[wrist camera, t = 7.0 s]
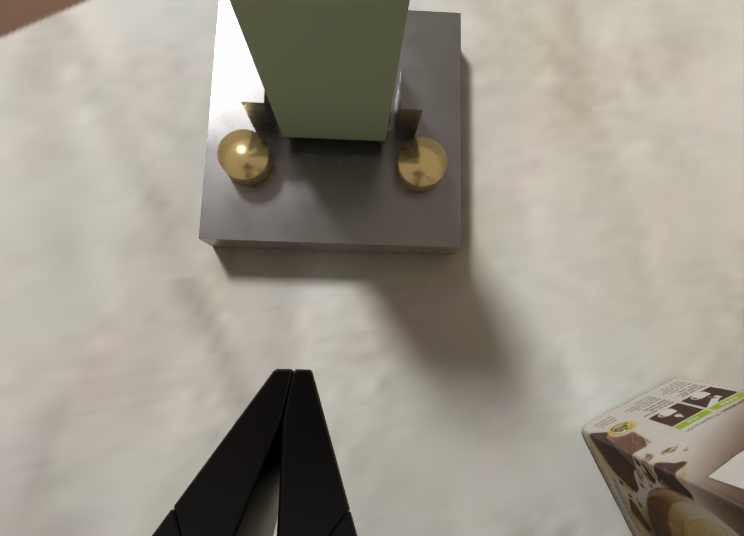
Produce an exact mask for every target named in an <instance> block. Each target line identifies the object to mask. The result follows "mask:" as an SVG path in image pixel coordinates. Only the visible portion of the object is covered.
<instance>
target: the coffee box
mask: <svg viewBox="0 0 744 536" xmlns="http://www.w3.org/2000/svg"><path fill="white" fill-rule="evenodd" d="M582 433H583V436H584V438H585V440H586V442H587V444H588V446H589V448H590V450H591V452H592V454H593V456H594V458H595V459H596V461H597V463H598V465H599V467H600V469H601V471H602V473H603V475H604V477H605V479H606V481H607V483H608V485H609V487H610V489H611V491H612V493H613V495H614V497H615V499H616V501H617V503H618V505H619V507H620V509H621V511H622V513H623V515H624V517H625V519H626V521H627V523H628V525H629V527H630V529H631V530H632V532H633V534H634V536H744V390H742V389H735V388H729V387H724V386H718V385H713V384H707V383H701V382H696V381H690V380H685V379H679V378H675V379H673V380H671V381H669V382H667V383H665V384H663V385H661V386H659V387H657V388H655V389H653V390H651V391H649V392H647V393H645V394H643V395H641V396H639V397H637V398H635V399H634V400H632V401H630V402H628V403H626V404H624V405H622V406H620V407H618V408H616V409H614V410H613V411H611V412H609V413H607V414H605V415H603V416H601V417H599V418H597V419H595V420H593V421H592V422H590V423H588V424H586V425H585V426H584V427H583V429H582Z"/></svg>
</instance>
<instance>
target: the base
mask: <svg viewBox="0 0 744 536" xmlns="http://www.w3.org/2000/svg"><path fill="white" fill-rule="evenodd" d="M199 239H200V240H202V241H204V242H206V243H207V244H209V245H211V246H215V247H245V248H276V249H306V250H336V251H367V252H397V253H428V254H453V253H455V252H456V251H457V250H459V249H460V248H461V18H460V13H448V12H430V11H411V10H408V12H407V18H406V24H405V30H404V36H403V41H402V47H401V53H400V59H399V65H398V71H397V76H396V82H395V88H394V94H393V100H392V106H391V119H390V125H388V129H387V135H386V141H368V140H345V139H321V138H298V137H283V135H282V133H281V130H280V128H279V125H278V122H277V120H276V117H275V115H274V112H273V110H272V107H271V105H270V102H269V100H268V97H267V95H266V92H265V89H264V87H263V84H262V82H261V79H260V77H259V74H258V72H257V69H256V67H255V64H254V62H253V59H252V56H251V54H250V51H249V49H248V46H247V44H246V41H245V39H244V36H243V34H242V31H241V29H240V26H239V23H238V21H237V18H236V16H235V13H234V11H233V8H232V6H231V3H230V1H226V0H219V8H218V20H217V32H216V43H215V55H214V67H213V78H212V90H211V102H210V113H209V125H208V137H207V148H206V160H205V172H204V183H203V195H202V207H201V218H200V230H199Z"/></svg>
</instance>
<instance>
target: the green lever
mask: <svg viewBox="0 0 744 536" xmlns="http://www.w3.org/2000/svg"><path fill="white" fill-rule="evenodd" d="M229 1H230V3H231V6H232V8H233V11H234V13H235V16H236V18H237V21H238V23H239V26H240V29H241V31H242V34H243V36H244V39H245V41H246V44H247V46H248V49H249V51H250V54H251V56H252V59H253V62H254V64H255V67H256V69H257V72H258V74H259V77H260V79H261V82H262V84H263V87H264V89H265V92H266V95H267V97H268V100H269V102H270V105H271V107H272V110H273V112H274V115H275V117H276V120H277V122H278V125H279V128H280V130H281V133H282V135H283V137H298V138H321V139H345V140H368V141H386V135H387V129H388V125H390V119H391V106H392V100H393V94H394V88H395V82H396V76H397V71H398V65H399V59H400V53H401V47H402V41H403V36H404V30H405V24H406V18H407V12H408V6H409V1H410V0H229Z"/></svg>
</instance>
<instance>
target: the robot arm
mask: <svg viewBox="0 0 744 536" xmlns="http://www.w3.org/2000/svg"><path fill="white" fill-rule="evenodd" d="M174 509H175V510H174ZM174 509H172V510H171V511H170V512H169V513H168V515H167V516H166V517H165V519H164V520H163V522H162V523H161V524H160V526H159V527H158V528H157V530H156V531H155V532H154V534H153V535H152V536H273V534H274V529H275V525H276V521H277V516H278V526H277V536H357V533H356V529H355V526H354V522H353V518H352V515H351V512H349V509H350V508H349V504H348V501H347V497H346V493H345V490H344V486H343V482H342V479H341V475H340V471H339V468H338V464H337V460H336V457H335V453H334V449H333V446H332V442H331V438H330V435H329V431H328V427H327V424H326V420H325V416H324V413H323V409H322V405H321V402H320V398H319V394H318V391H317V387H316V383H315V380H314V376H313V373H312V371H311V370H303V369H297V370H294V372H293V370H291V369H276V370H274V371H273V373H272V374H271V375H270V377H269V378H268V379H267V381H266V382H265V383H264V385H263V386H262V387H261V389H260V390H259V392H258V393H257V394H256V396H255V397H254V398H253V400H252V401H251V402H250V404H249V405H248V406H247V408H246V409H245V411H244V412H243V413H242V415H241V416H240V417H239V419H238V420H237V421H236V423H235V424H234V425H233V427H232V428H231V430H230V431H229V432H228V434H227V435H226V436H225V438H224V439H223V440H222V442H221V443H220V444H219V446H218V447H217V449H216V450H215V451H214V453H213V454H212V455H211V457H210V458H209V459H208V461H207V462H206V463H205V465H204V466H203V468H202V469H201V470H200V472H199V473H198V474H197V476H196V477H195V478H194V480H193V481H192V482H191V484H190V485H189V487H188V488H187V489H186V491H185V492H184V493H183V495H182V496H181V497H180V499H179V500H178V501H177V503H176V504H175V506H174Z"/></svg>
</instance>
